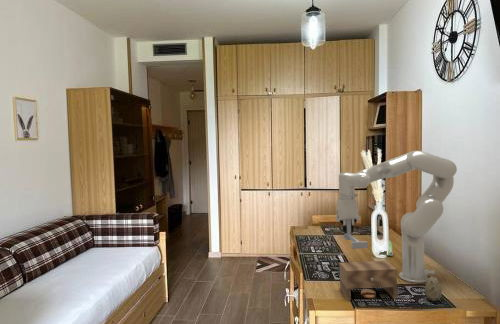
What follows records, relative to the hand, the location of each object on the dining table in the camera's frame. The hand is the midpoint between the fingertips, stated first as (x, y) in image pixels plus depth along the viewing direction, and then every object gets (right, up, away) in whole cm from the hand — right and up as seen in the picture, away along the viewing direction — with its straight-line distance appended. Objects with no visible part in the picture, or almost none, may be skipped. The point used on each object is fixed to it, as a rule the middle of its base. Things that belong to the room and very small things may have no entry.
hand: (348, 232), depth 161 cm
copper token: (+1, -22, -25) cm, 33 cm away
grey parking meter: (0, -4, -7) cm, 8 cm away
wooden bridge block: (+1, -22, -24) cm, 32 cm away
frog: (+30, -19, +26) cm, 45 cm away
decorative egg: (+25, -21, -32) cm, 46 cm away
